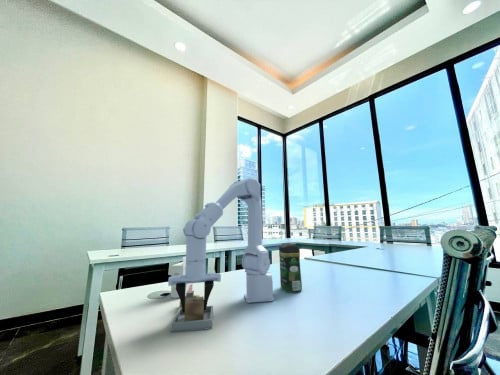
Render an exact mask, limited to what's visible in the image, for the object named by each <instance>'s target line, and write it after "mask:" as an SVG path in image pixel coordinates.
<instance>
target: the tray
mask: <svg viewBox="0 0 500 375" xmlns="http://www.w3.org/2000/svg"><path fill="white" fill-rule="evenodd" d="M213 318H214V305H207V307H206V310H204V320H196V321H184V320H185V313H182V308H180V307H179V308H178V310H177V312H176V314H175V316H174V318H173V320H172V322H171V327H170V329H171V330H170V332H171V333H179V332H187V331H188V332H189V331H199V330H210V329H211V330H212V329H213V322H214V321H213V320H214V319H213Z"/></svg>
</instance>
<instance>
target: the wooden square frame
mask: <svg viewBox="0 0 500 375" xmlns="http://www.w3.org/2000/svg"><path fill="white" fill-rule="evenodd" d="M194 297H201V295H200V294H194ZM185 302H186V296H185ZM179 308H182V305H181V301H179Z"/></svg>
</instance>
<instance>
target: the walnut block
mask: <svg viewBox="0 0 500 375" xmlns="http://www.w3.org/2000/svg"><path fill="white" fill-rule="evenodd" d="M196 320H204V296H200V297H193V298H186V302H185V320H184V321H196Z"/></svg>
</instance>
